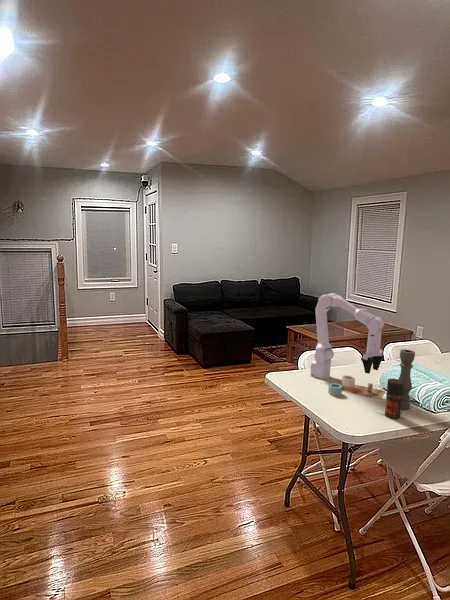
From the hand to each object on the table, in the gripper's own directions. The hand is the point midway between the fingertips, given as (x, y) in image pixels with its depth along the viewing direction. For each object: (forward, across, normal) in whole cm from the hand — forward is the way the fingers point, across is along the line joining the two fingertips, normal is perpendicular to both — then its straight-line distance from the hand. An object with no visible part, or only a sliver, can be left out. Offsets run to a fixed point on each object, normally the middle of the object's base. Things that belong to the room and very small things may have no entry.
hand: (371, 371), depth 192 cm
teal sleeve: (+10, -18, +8) cm, 22 cm away
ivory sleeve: (+9, -6, +8) cm, 13 cm away
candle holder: (+10, -5, -18) cm, 21 cm away
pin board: (+10, -5, +3) cm, 12 cm away
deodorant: (+10, -17, -19) cm, 28 cm away
